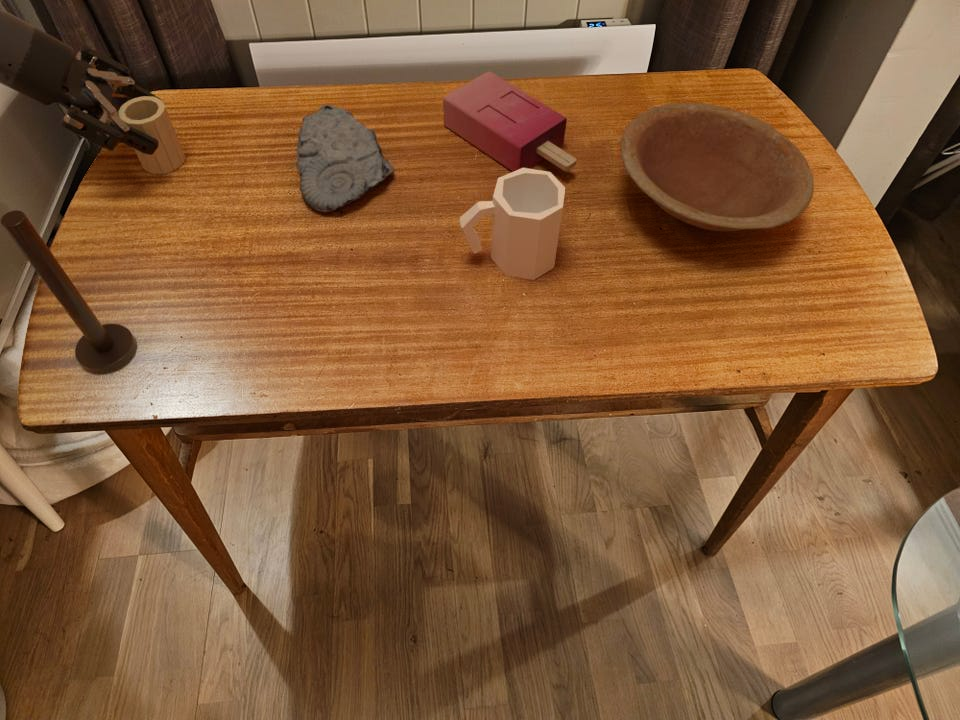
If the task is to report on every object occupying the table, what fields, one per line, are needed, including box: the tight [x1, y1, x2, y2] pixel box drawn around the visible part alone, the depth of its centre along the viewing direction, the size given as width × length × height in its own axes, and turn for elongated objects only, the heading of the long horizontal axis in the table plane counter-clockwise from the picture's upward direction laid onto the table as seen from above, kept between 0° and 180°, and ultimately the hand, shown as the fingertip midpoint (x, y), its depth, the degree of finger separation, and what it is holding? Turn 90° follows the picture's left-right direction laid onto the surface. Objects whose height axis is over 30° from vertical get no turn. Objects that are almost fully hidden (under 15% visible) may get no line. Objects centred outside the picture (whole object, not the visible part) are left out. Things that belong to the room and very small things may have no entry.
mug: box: [459, 168, 566, 281], centre depth 83 cm, size 12×9×10 cm
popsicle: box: [442, 70, 577, 172], centre depth 97 cm, size 9×5×20 cm
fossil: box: [295, 104, 395, 213], centre depth 94 cm, size 13×18×4 cm
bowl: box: [619, 102, 815, 232], centre depth 89 cm, size 24×24×8 cm
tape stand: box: [0, 209, 138, 375], centre depth 70 cm, size 6×6×20 cm
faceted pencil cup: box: [117, 96, 186, 175], centre depth 93 cm, size 6×6×8 cm
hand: (157, 127), depth 92 cm, fingers open, 8 cm apart
